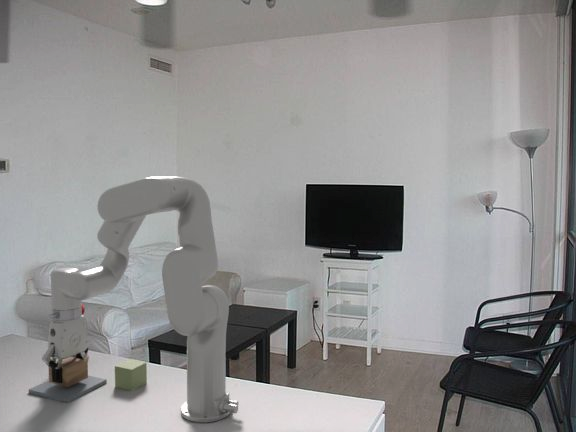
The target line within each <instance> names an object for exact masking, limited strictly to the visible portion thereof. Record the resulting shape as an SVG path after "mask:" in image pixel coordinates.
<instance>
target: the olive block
mask: <svg viewBox="0 0 576 432" xmlns="http://www.w3.org/2000/svg"><path fill="white" fill-rule="evenodd" d="M147 374H148V373H147V362H146V361H140V360H135V359H130V358H129V359H127V360H125V361H123V362H121V363H119V364H116V365H115V366H114V382H115V383H114V385H115V386H114V387H115V388H119V389H123V390H127V391H131V392H132V391H134V390H136V389H138V388H140V387H141V386H143V385H145V384H147V381H148V380H147V379H148V378H147V377H148V376H147Z"/></svg>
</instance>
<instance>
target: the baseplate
mask: <svg viewBox="0 0 576 432" xmlns="http://www.w3.org/2000/svg"><path fill="white" fill-rule="evenodd" d="M105 384H107V379H106V378H102V377H101V378H100V377H96V376H92V375H88V378H86V379H84V380H82V381H80V382H77V383H75V384H73V385H71V386H69V387H65V386H61V385H58V384H54V383H50V382H49V380H47V381H45V382H43V383H40V384H38V385H36V386H33V387H31V388H29V389H28V394H30V395H31V394H32V395H35V396H38V397H43V398H45V399H46V398H47V399H51V400H55V401H58V402H63V403H65V404H67V403H70V402H72V401H74V400H76V399H78V398H80V397H82V396H85V394H87V393H90V392H92V391H94V390H96V389H97V388H99V387H101V386H104V385H105Z"/></svg>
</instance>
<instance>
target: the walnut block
mask: <svg viewBox="0 0 576 432" xmlns="http://www.w3.org/2000/svg"><path fill="white" fill-rule="evenodd" d="M88 360H89V359H88ZM88 360H84V359H79V358H75V357H69V358H66V359H63V360H62V363H61V366H60V368H62V383H56V382H53V381H52V368H50V367H49V366H48V381H49V382H50V383H54V384H58V385H61V386H65V387H69V386H71V385H73V384H75V383H77V382H80V381H82V380H84V379H86V378H88V376H89V365H88V364H89V363H88ZM57 361H58V360H56V362H55V363H57Z"/></svg>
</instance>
